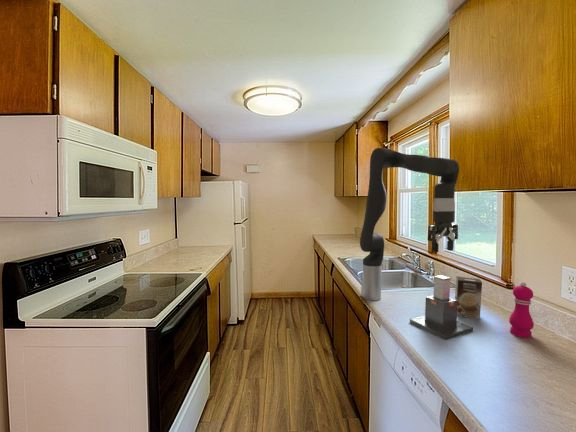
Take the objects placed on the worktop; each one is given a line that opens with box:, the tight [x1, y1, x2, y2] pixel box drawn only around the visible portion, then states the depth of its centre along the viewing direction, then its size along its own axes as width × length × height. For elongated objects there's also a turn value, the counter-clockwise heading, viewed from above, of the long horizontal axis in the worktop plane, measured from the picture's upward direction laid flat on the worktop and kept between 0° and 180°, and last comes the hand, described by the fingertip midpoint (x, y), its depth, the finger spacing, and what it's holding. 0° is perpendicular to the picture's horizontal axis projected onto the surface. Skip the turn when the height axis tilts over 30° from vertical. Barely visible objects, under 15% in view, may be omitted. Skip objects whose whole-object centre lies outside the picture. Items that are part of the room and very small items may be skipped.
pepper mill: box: [508, 281, 535, 339], centre depth 109 cm, size 7×7×20 cm
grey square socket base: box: [409, 294, 474, 341], centre depth 115 cm, size 16×16×12 cm
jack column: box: [433, 274, 452, 301], centre depth 115 cm, size 4×4×18 cm
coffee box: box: [454, 276, 483, 320], centre depth 126 cm, size 9×6×16 cm
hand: (442, 251), depth 113 cm, fingers open, 8 cm apart
